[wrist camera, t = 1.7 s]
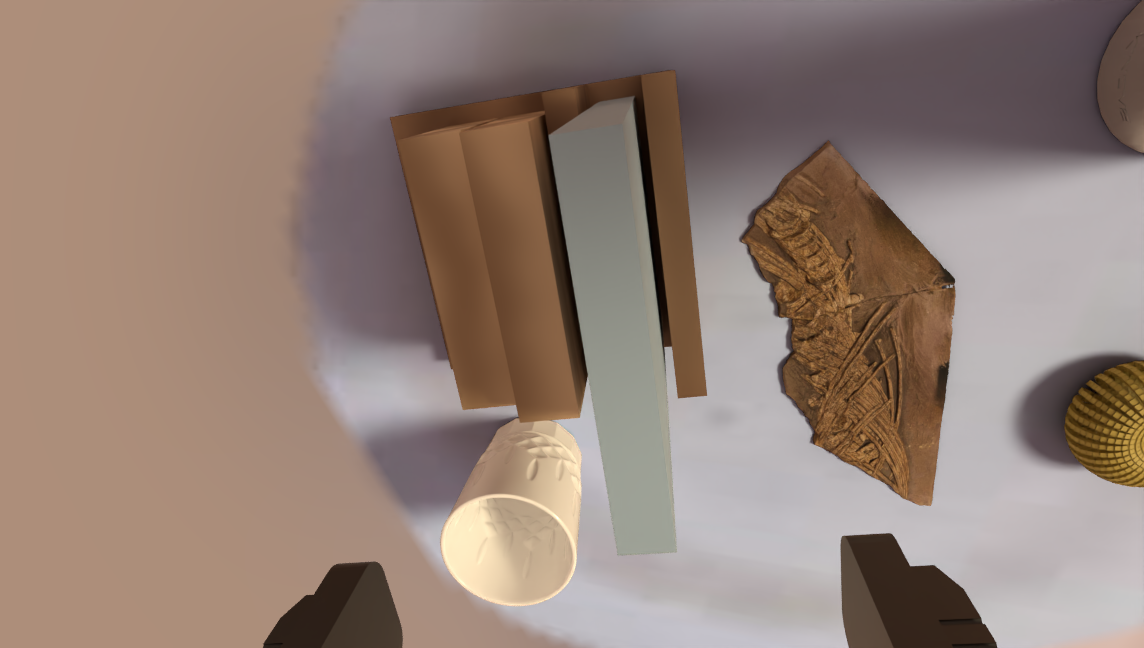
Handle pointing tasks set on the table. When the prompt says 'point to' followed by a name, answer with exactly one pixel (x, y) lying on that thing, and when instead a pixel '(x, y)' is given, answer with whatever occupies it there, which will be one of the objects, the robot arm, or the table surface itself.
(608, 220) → the tall board
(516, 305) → the tall oak offcut
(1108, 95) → the robot arm
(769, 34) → the table surface
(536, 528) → the white cup
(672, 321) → the rack
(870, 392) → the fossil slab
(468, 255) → the short oak offcut
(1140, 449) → the sculpture
